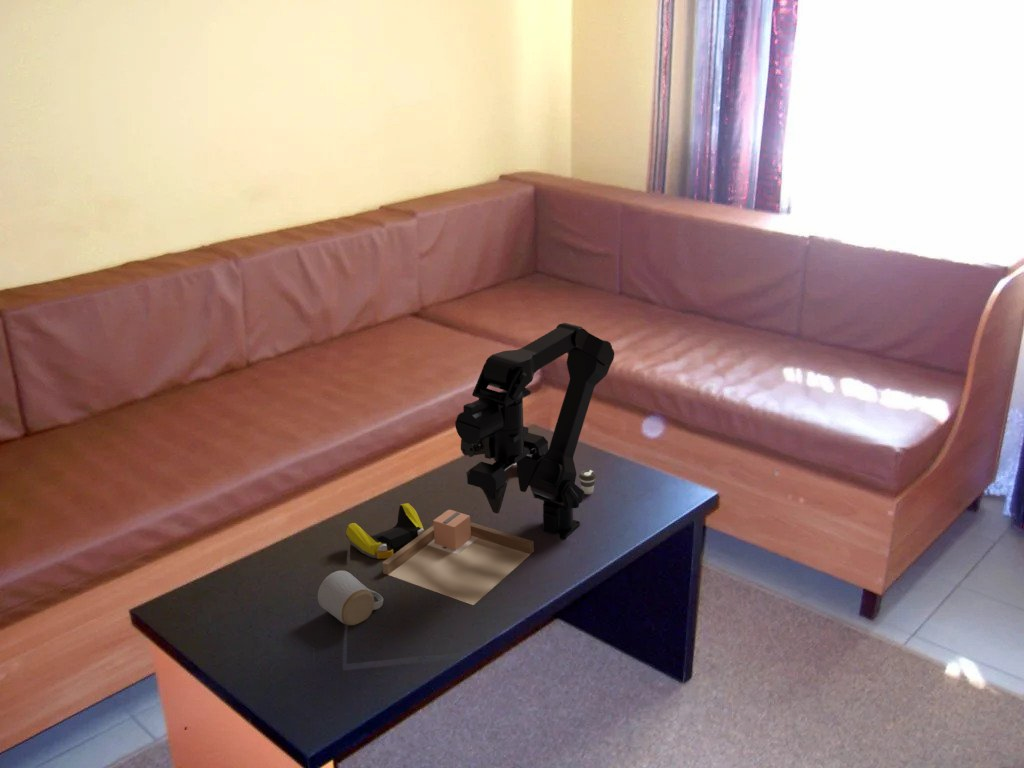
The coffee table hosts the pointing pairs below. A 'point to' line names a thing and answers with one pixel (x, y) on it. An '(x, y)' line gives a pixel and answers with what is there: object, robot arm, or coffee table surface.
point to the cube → (452, 529)
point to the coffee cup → (587, 481)
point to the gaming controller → (387, 535)
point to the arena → (459, 562)
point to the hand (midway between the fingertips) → (509, 501)
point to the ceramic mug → (347, 598)
